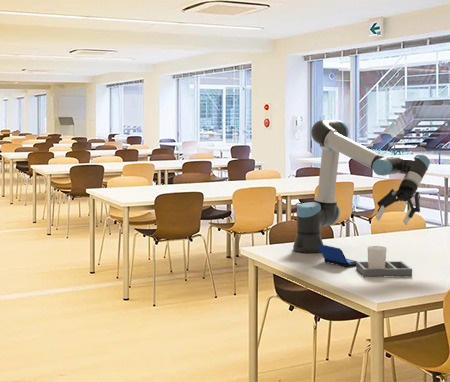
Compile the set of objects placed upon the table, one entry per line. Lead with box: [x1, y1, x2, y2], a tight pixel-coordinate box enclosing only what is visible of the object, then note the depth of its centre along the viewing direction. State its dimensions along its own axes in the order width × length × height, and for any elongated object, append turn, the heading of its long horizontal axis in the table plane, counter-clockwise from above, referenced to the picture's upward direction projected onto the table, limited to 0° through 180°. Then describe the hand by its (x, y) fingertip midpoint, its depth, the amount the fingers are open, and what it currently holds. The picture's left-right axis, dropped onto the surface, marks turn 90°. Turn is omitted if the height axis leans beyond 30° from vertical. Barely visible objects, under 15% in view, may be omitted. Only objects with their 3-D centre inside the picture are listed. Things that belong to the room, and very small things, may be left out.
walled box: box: [355, 260, 413, 278], centre depth 282 cm, size 20×15×3 cm
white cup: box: [367, 245, 387, 269], centre depth 282 cm, size 8×8×10 cm
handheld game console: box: [318, 244, 358, 269], centre depth 299 cm, size 16×13×9 cm
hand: (390, 220), depth 290 cm, fingers open, 13 cm apart
